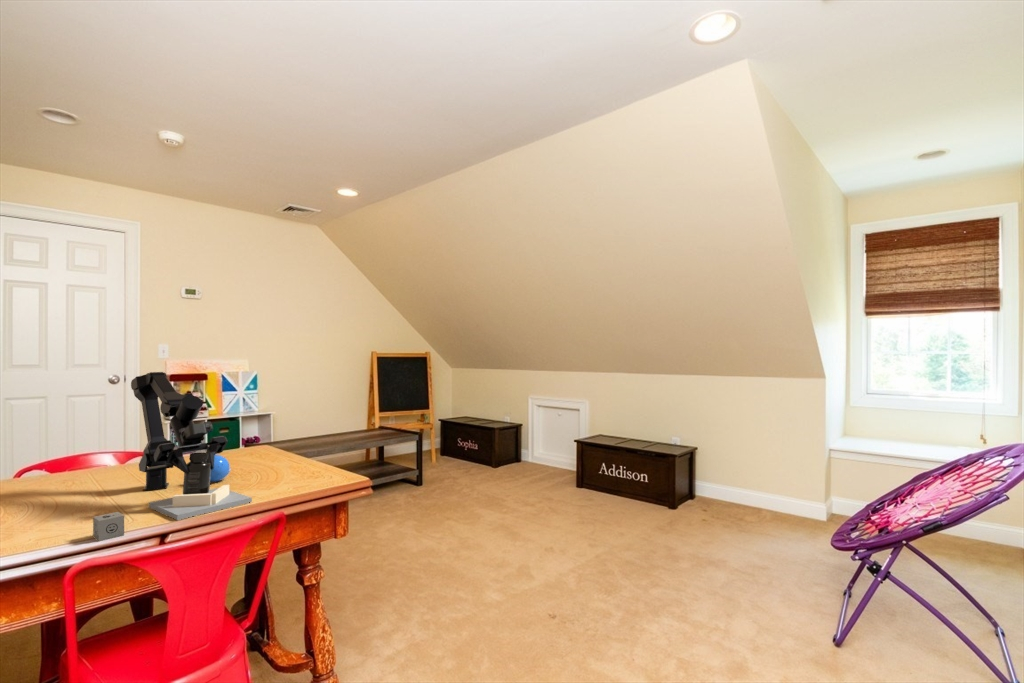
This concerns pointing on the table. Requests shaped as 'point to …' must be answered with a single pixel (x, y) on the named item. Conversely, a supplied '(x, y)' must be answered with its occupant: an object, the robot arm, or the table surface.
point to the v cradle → (199, 503)
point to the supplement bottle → (197, 474)
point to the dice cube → (108, 526)
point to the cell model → (219, 469)
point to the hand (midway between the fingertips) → (200, 471)
